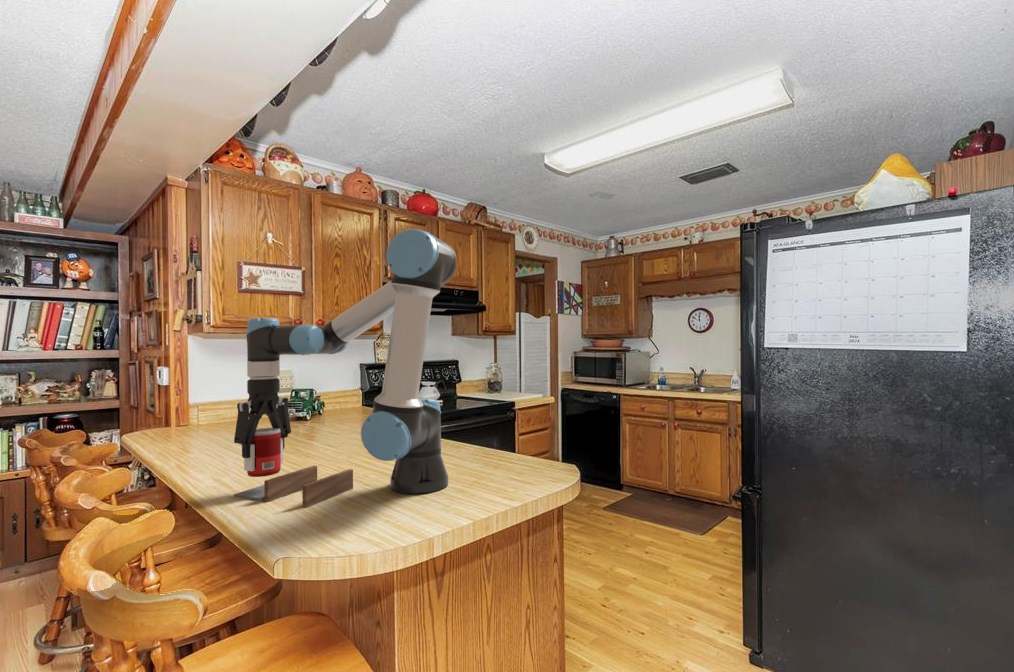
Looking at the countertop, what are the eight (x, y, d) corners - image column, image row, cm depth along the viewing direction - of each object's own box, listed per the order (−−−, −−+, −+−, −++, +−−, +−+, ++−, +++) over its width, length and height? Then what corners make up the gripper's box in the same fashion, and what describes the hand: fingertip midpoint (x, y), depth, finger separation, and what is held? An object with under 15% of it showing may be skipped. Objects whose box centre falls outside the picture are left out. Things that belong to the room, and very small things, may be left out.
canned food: (286, 469, 130) (286, 427, 130) (269, 477, 122) (268, 433, 122) (259, 469, 131) (259, 427, 131) (240, 477, 123) (239, 433, 123)
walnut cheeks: (353, 488, 129) (352, 469, 129) (306, 507, 114) (306, 485, 114) (314, 483, 134) (313, 465, 134) (264, 501, 119) (264, 480, 119)
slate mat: (294, 489, 129) (294, 487, 129) (262, 501, 120) (262, 498, 120) (266, 486, 133) (266, 484, 133) (233, 496, 123) (233, 494, 123)
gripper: (285, 375, 138) (285, 456, 137) (215, 380, 119) (216, 475, 118) (305, 375, 135) (306, 458, 134) (237, 381, 116) (238, 478, 115)
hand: (264, 466), depth 126 cm, fingers closed on canned food, 8 cm apart
